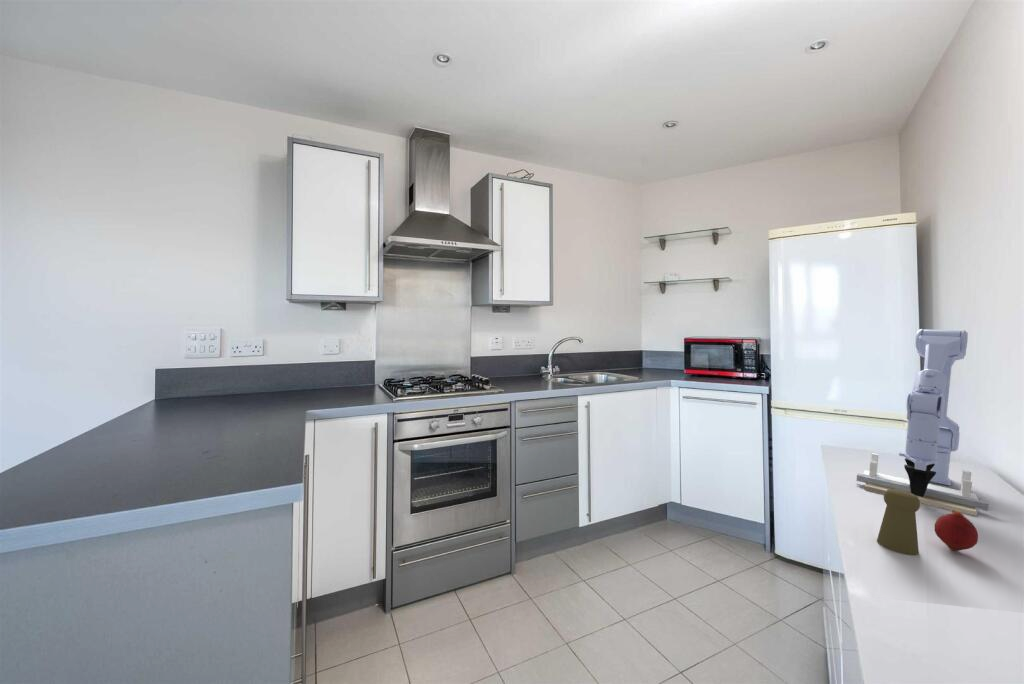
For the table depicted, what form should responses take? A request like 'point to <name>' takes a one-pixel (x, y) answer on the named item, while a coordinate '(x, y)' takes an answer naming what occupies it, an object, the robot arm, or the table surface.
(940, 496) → the steel rail
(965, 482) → the bracket stand
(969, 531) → the onion
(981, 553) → the table surface
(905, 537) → the cork
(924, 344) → the robot arm
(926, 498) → the beech board
